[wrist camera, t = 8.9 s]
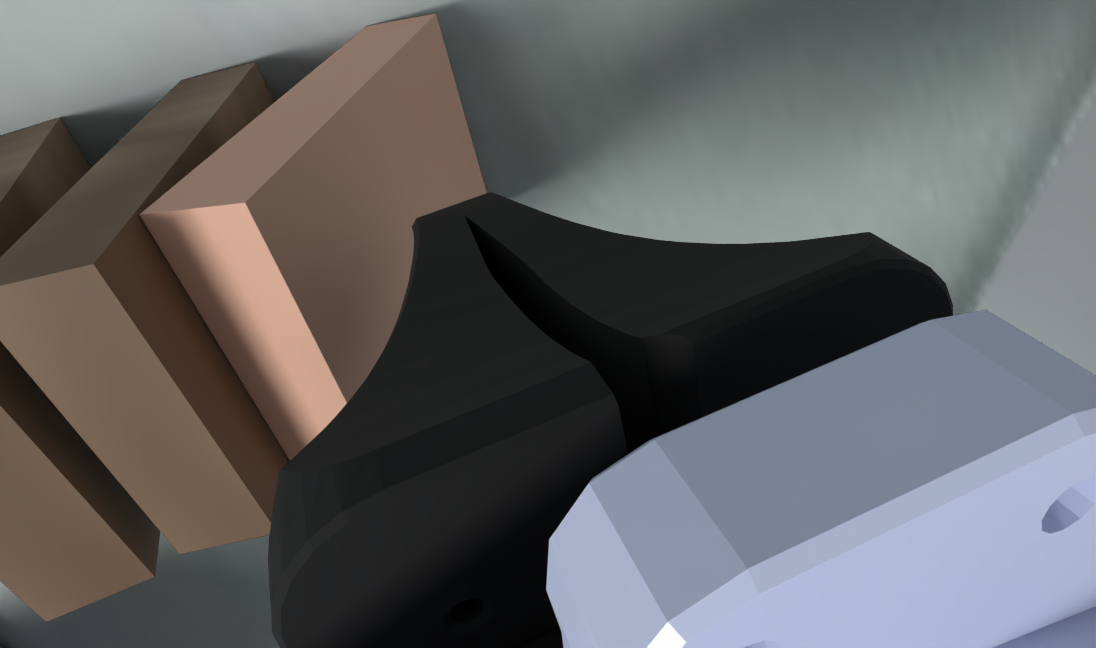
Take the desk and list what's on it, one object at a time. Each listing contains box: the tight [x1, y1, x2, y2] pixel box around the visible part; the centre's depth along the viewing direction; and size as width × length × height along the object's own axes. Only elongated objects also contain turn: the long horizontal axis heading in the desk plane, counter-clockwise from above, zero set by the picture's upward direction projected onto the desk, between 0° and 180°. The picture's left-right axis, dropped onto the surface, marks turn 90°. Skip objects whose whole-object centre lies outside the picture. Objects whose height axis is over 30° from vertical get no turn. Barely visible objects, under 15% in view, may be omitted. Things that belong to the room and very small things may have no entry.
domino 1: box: [0, 117, 160, 622], centre depth 13 cm, size 2×5×8 cm, turn 13°
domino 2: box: [0, 62, 290, 554], centre depth 13 cm, size 2×5×8 cm, turn 13°
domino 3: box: [139, 14, 487, 460], centre depth 14 cm, size 2×5×8 cm, turn 12°
